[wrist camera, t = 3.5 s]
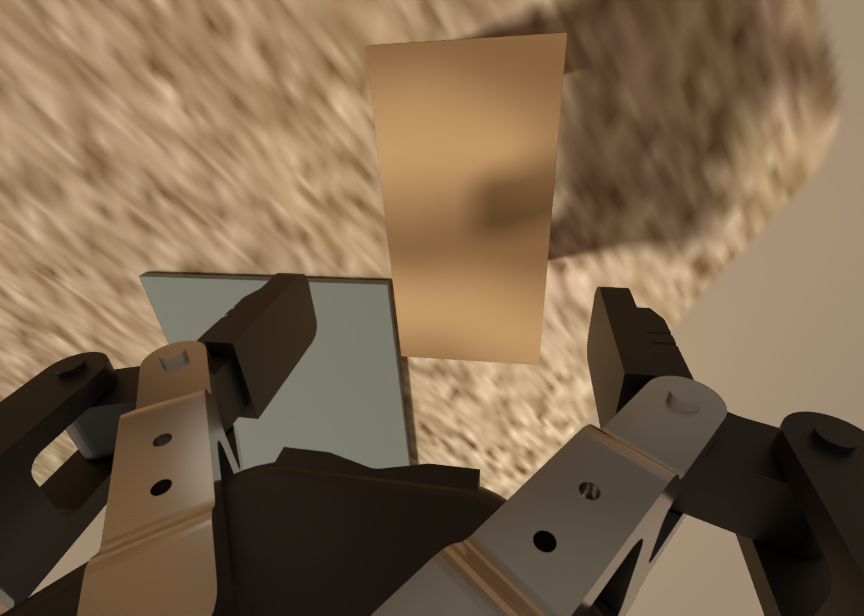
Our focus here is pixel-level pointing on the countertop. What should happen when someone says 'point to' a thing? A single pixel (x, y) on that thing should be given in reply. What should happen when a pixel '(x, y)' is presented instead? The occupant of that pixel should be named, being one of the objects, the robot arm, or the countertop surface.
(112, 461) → the robot arm
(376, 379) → the mat
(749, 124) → the countertop surface
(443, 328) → the tan wooden block
